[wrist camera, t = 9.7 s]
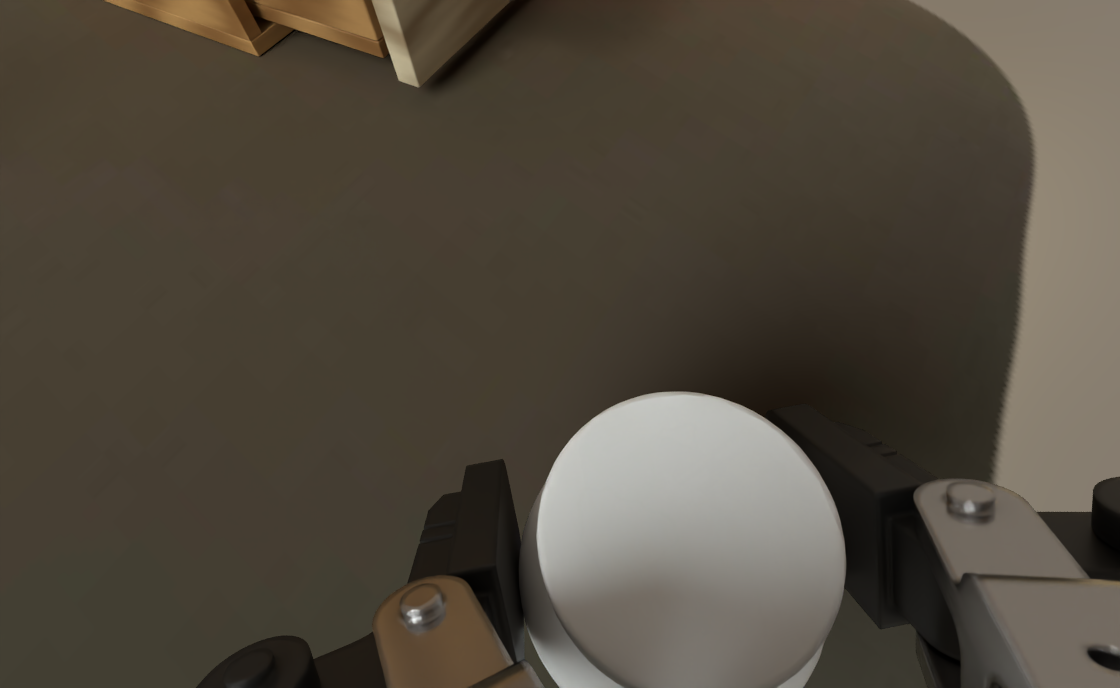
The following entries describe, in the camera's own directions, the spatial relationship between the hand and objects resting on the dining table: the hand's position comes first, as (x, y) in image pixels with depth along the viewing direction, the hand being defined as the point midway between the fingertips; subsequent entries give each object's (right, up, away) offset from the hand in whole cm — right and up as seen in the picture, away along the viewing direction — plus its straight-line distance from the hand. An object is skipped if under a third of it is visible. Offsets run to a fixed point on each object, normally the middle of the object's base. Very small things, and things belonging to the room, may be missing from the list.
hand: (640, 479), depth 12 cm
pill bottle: (+1, -4, +4) cm, 6 cm away
